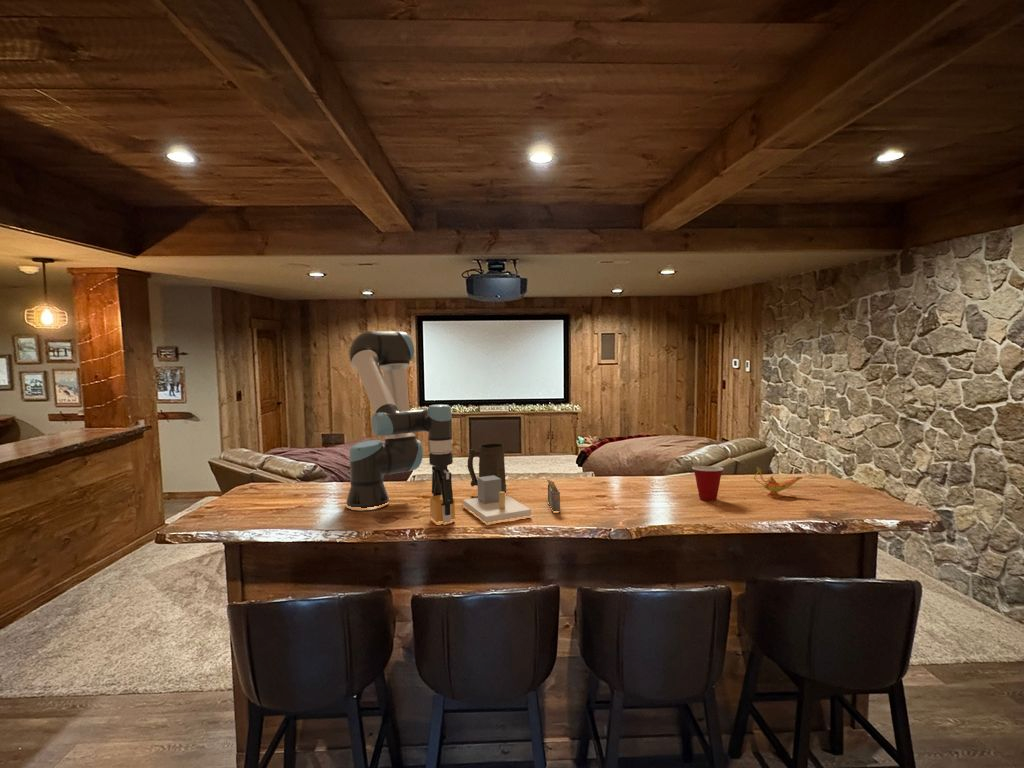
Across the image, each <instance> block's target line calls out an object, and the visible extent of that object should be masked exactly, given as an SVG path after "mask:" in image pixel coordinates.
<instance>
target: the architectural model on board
mask: <svg viewBox="0 0 1024 768" xmlns="http://www.w3.org/2000/svg"><path fill="white" fill-rule="evenodd" d="M546 481H547V483H548V484H547V503H548V502H549V504H550V506H551V508H552V510H553V511H560V512H561V492H560V490H559V488H558V487H557V485H556V483H555V481H552V480H549V479H546ZM549 504H548V505H549Z"/></svg>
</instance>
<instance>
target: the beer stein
mask: <svg viewBox="0 0 1024 768" xmlns="http://www.w3.org/2000/svg"><path fill="white" fill-rule="evenodd" d="M468 451H469V454H468V458H467V470H468V473H469V475H470V478H471V481H470V486H471V487H474V486H475V487H476V486H477V487H478V480H477V475H476V473H475V469H474V463H473V462H474V457H478V459H479V461H478V477H484V476H492V475H494V476H496V477H498V478H500V479H501V492H505V493H506V492H507V484H506V465H505V451H506V450H505V445H504V444H503V443H486V444H480V445H479V449H478V450H476V449H474V448H471V449H469V450H468Z"/></svg>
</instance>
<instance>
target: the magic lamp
mask: <svg viewBox="0 0 1024 768" xmlns="http://www.w3.org/2000/svg"><path fill="white" fill-rule="evenodd" d="M756 470H757V472H756V473H755V475H754V477H753V478H754V480H755V482H757V483H759V484H761V486H763V489H762V488H760V490H762V491H764V490H765V489H766V490H767V491H770V492H769V493H767V494H766V496H767V497H770V498H774V497H775V499H776V498H782V497H783V496H782V495H781V494H779V493H778V492H782V491H784V490H785V489H787V488H790V487H791V486H793V485H794V484H795V483H796V482H798V481H799V480H801V479H803V476H798V477H795V478H792V479H790V480H787V481H780V482H777V481H776V480H775V478H774V476H773V475H771V476H770V477H769V478H768V479H767V480H765V479H764V478H763V474H762V468H761V467H758V466H756ZM758 474H759V476H760V479H761V480H762V482H764V483H762V482H760V481H758V480H757V478H756V476H757V475H758Z"/></svg>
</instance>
